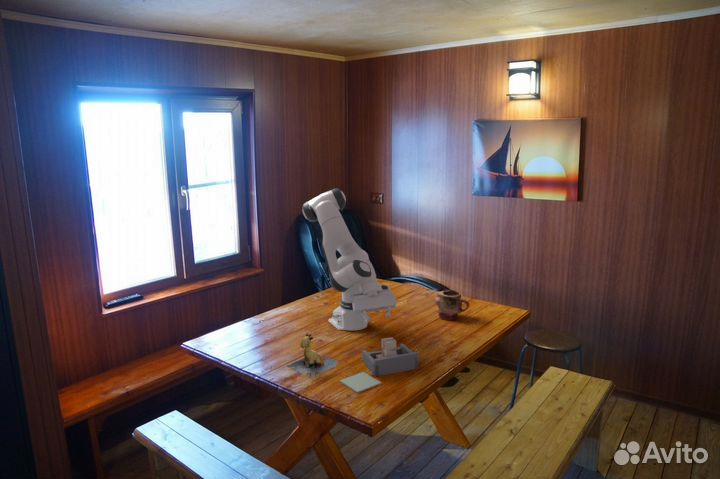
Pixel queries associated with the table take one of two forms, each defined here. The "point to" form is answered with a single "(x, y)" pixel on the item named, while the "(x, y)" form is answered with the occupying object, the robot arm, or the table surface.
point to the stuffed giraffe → (311, 359)
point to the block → (388, 347)
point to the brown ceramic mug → (450, 304)
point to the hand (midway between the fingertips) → (378, 318)
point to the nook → (390, 361)
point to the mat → (360, 382)
